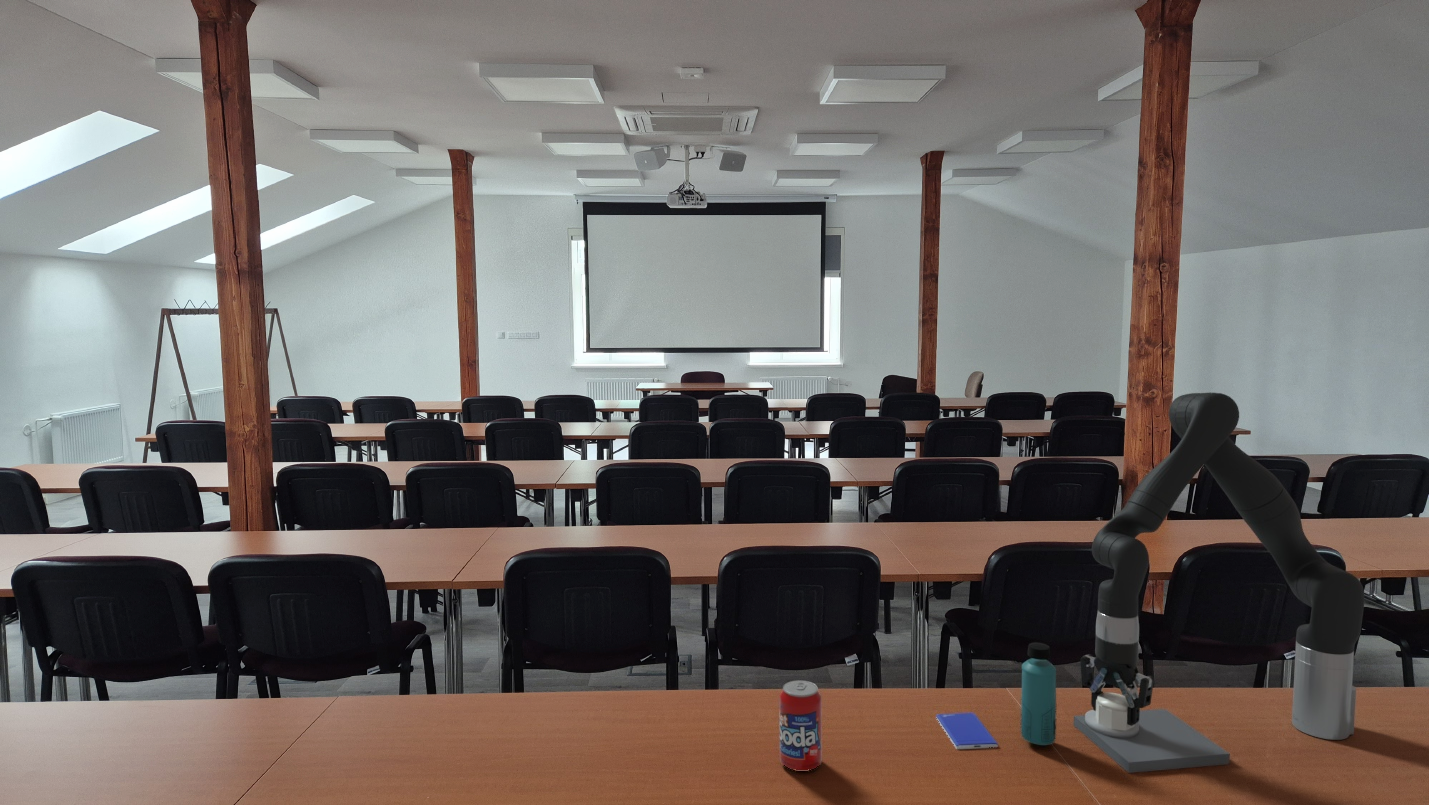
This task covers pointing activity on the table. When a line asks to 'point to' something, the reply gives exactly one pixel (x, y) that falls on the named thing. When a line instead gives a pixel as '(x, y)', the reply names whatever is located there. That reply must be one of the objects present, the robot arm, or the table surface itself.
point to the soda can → (800, 725)
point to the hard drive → (966, 731)
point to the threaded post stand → (1153, 742)
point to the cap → (1112, 711)
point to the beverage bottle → (1038, 696)
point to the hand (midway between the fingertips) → (1114, 716)
